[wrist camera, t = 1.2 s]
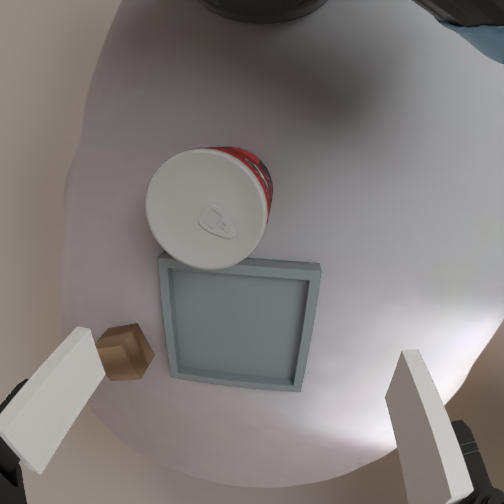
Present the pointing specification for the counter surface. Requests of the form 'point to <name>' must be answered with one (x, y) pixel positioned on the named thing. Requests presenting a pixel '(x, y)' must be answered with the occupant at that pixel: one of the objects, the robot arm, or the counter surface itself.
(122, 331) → the walnut block
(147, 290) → the counter surface
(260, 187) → the canned food
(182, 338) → the tray
